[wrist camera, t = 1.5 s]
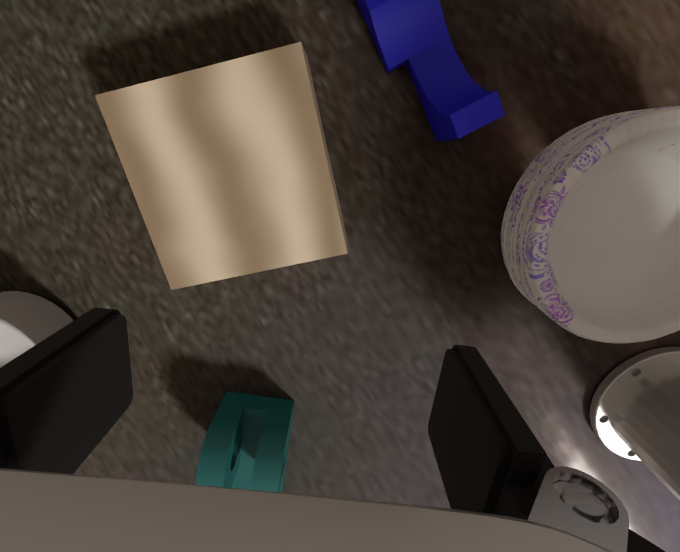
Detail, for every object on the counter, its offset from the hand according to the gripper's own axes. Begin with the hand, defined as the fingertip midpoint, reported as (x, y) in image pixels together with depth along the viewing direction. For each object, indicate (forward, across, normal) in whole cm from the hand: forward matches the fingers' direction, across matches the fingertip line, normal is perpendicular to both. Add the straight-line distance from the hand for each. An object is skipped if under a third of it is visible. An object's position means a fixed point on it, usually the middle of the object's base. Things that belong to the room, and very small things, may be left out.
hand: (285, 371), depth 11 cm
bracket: (+21, +5, +27) cm, 35 cm away
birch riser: (+21, +7, -3) cm, 22 cm away
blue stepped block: (+21, -6, -13) cm, 26 cm away
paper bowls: (+21, -21, -3) cm, 30 cm away
